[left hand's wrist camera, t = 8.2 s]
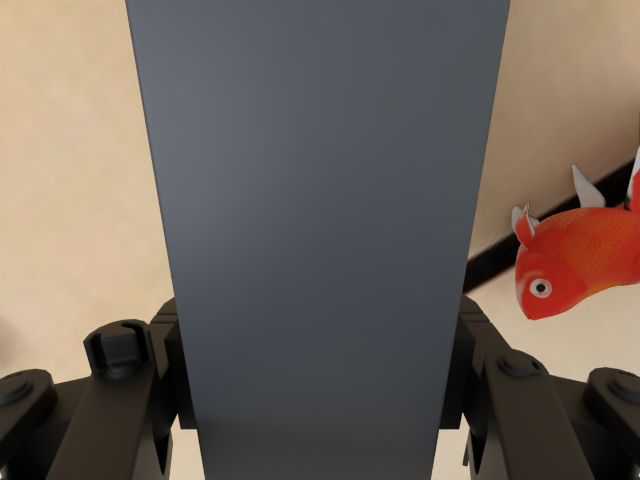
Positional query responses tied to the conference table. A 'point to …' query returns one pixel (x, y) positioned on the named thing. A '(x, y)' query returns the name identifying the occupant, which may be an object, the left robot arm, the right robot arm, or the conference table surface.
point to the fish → (577, 249)
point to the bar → (317, 219)
